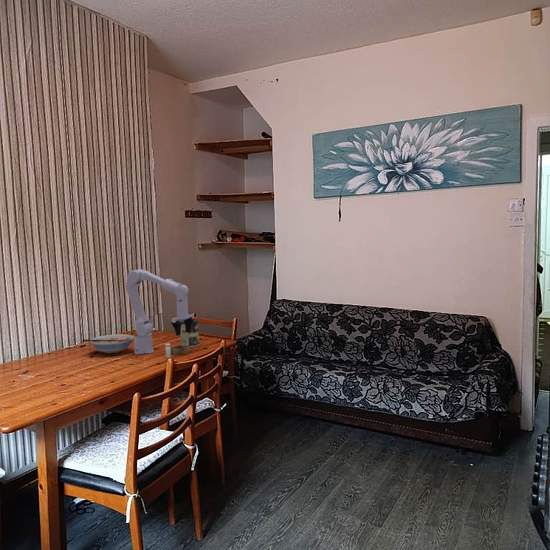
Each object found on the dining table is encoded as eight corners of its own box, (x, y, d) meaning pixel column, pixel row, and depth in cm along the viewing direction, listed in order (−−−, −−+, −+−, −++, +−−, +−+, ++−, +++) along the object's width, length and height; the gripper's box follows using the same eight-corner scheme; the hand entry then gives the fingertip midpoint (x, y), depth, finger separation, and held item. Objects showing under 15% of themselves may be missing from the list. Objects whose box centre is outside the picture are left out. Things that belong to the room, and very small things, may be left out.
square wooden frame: (174, 355, 252) (174, 349, 251) (169, 352, 259) (169, 346, 258) (189, 353, 256) (188, 347, 255) (183, 350, 263) (183, 344, 262)
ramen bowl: (143, 347, 272) (142, 332, 271) (126, 357, 249) (125, 342, 249) (100, 347, 274) (99, 332, 274) (79, 357, 252) (78, 341, 251)
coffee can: (200, 343, 279) (199, 318, 277) (198, 347, 268) (196, 321, 267) (182, 343, 278) (180, 319, 277) (179, 348, 268) (177, 322, 267)
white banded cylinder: (165, 358, 246) (165, 344, 246) (165, 357, 249) (165, 343, 248) (170, 357, 247) (170, 344, 246) (170, 356, 249) (170, 343, 249)
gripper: (178, 310, 248) (179, 337, 249) (197, 306, 260) (198, 332, 261) (168, 309, 251) (169, 335, 252) (187, 305, 264) (187, 330, 265)
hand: (183, 333), depth 257 cm, fingers open, 7 cm apart
